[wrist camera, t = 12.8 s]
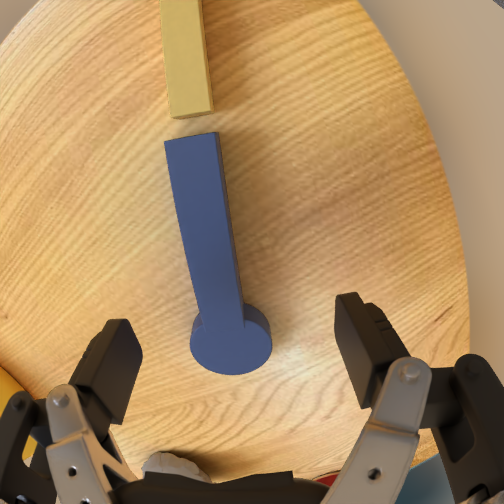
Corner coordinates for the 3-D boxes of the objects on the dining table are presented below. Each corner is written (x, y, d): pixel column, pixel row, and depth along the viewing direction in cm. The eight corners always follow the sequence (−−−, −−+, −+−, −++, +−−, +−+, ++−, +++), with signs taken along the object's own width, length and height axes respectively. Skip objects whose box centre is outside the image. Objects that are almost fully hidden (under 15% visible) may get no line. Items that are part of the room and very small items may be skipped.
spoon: (148, 145, 13) (133, 148, 11) (247, 128, 13) (249, 127, 11) (201, 361, 19) (199, 384, 17) (272, 354, 19) (275, 377, 17)
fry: (166, -10, 9) (158, -24, 7) (199, -17, 9) (195, -33, 7) (178, 119, 12) (170, 118, 11) (214, 113, 12) (211, 110, 11)
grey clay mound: (130, 432, 28) (103, 489, 17) (219, 436, 28) (212, 505, 17) (158, 483, 30) (143, 533, 19) (235, 486, 30) (233, 542, 19)
